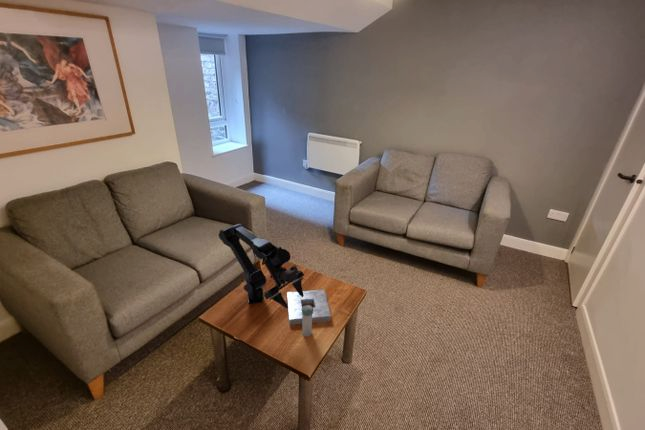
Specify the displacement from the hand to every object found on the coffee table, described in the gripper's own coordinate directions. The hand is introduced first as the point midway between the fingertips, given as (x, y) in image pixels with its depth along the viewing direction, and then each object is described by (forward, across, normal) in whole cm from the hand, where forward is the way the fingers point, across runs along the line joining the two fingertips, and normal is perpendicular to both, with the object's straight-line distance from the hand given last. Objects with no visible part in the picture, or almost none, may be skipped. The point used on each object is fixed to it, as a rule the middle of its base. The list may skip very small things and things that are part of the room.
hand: (295, 302), depth 129 cm
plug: (+14, 0, +4) cm, 14 cm away
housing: (+7, +11, +11) cm, 17 cm away
